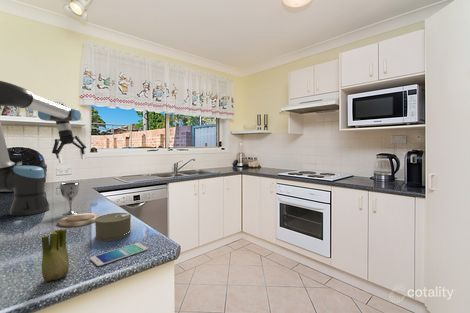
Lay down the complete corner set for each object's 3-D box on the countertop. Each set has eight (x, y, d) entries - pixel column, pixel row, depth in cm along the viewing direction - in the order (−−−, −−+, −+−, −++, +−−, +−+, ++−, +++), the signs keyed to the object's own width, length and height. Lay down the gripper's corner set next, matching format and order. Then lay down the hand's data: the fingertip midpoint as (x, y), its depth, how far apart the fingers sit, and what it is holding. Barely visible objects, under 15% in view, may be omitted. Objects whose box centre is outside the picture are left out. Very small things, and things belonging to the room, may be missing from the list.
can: (90, 235, 87) (90, 217, 87) (123, 227, 96) (123, 211, 95) (101, 244, 79) (101, 224, 78) (136, 235, 87) (136, 217, 87)
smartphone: (149, 248, 75) (98, 265, 63) (149, 251, 75) (98, 268, 63) (138, 242, 80) (88, 257, 68) (138, 244, 80) (88, 260, 68)
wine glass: (59, 216, 110) (58, 185, 110) (62, 212, 118) (61, 182, 117) (79, 214, 114) (78, 184, 114) (81, 210, 121) (80, 181, 121)
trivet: (75, 228, 94) (75, 225, 94) (48, 224, 99) (48, 221, 99) (109, 217, 109) (108, 214, 109) (84, 214, 114) (84, 211, 114)
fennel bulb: (43, 286, 55) (41, 236, 54) (39, 278, 58) (37, 231, 57) (72, 276, 59) (71, 230, 58) (67, 269, 62) (66, 225, 62)
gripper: (87, 127, 163) (93, 157, 165) (47, 134, 158) (54, 164, 160) (82, 126, 156) (89, 157, 158) (40, 133, 151) (48, 165, 153)
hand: (72, 161), depth 159 cm, fingers open, 13 cm apart
